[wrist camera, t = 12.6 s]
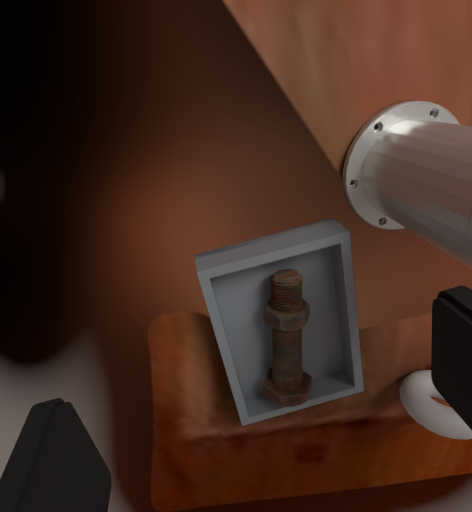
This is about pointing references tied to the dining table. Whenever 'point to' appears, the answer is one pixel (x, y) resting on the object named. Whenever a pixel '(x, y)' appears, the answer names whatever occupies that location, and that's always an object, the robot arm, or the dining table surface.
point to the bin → (260, 333)
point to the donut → (431, 407)
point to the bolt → (287, 340)
